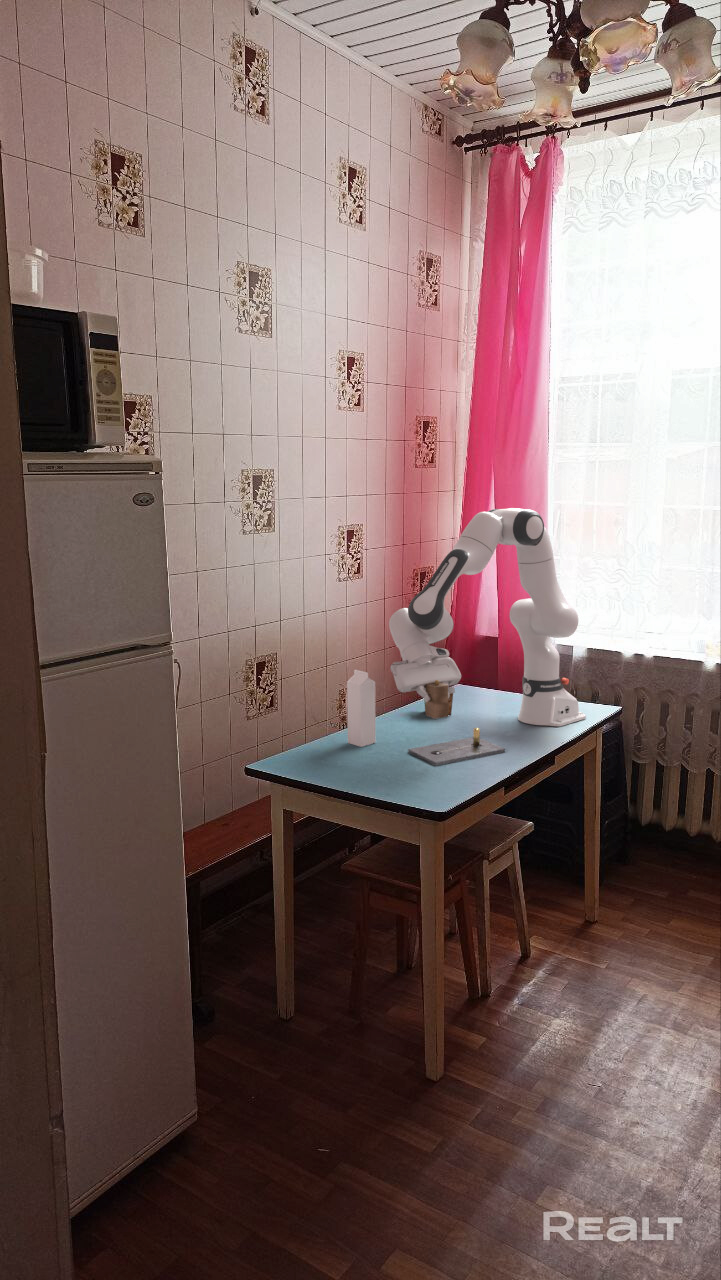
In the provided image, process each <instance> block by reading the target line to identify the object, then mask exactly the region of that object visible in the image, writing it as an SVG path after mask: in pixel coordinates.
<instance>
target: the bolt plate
mask: <svg viewBox="0 0 721 1280" xmlns="http://www.w3.org/2000/svg"><path fill="white" fill-rule="evenodd" d="M480 731H481V728H480V727H474V728H473V732H472V733H473V737H467V738H462V739H461V738H460V739H456V740H449V741H445V742H440V743H435V744H430V745H424V746H423V745H422V746H418V747H413V748H408V749H407V750H408V752H407V753H408V754H410V755H413V756H414V757H416V758H418V759H421V760H422V761H425V762H427V763H428V764H430V765H433V766H434V767H438V766H443V765H447V763H448V764H452V762H453V763H457V761H458V762H462V760H463V761H467V760H466V759H468V760H472V759H471V758H473V759H477V757H478V758H482V757H488V756H492V755H497V754H502V753H505V752H506V748H504V747H501V746H499V745H497V744H495V743H492V742H490V741H487V740H485V739H482V738H480V736H481V734H480V733H481V732H480ZM487 755H488V756H487ZM442 764H443V765H442ZM437 765H438V766H437Z"/></svg>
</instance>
